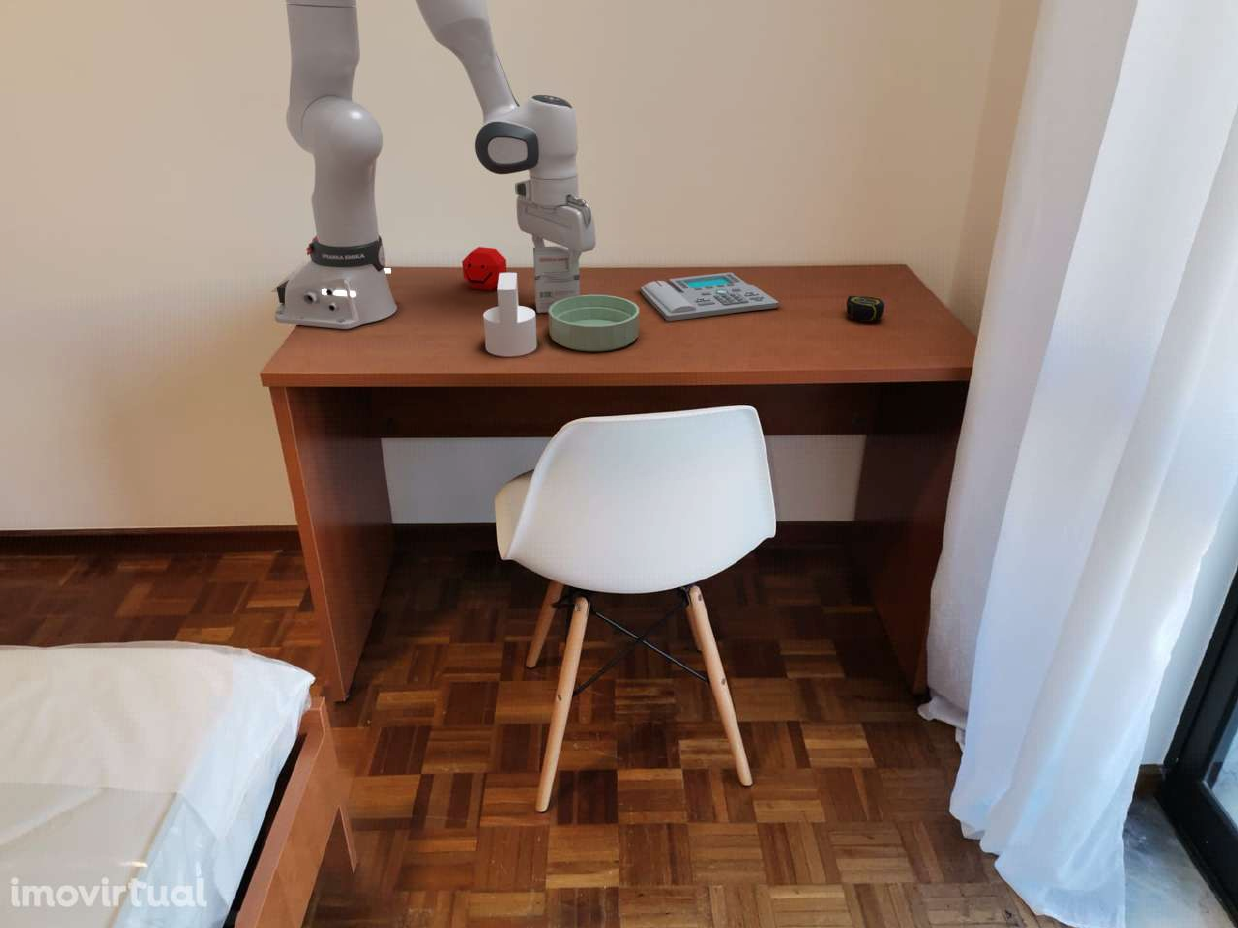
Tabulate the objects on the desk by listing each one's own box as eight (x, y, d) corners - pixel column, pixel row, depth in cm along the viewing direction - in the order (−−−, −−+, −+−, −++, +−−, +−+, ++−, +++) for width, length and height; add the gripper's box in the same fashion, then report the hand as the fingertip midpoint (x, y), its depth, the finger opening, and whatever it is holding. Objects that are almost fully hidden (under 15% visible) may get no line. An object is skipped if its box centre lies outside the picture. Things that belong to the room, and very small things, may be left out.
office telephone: (668, 309, 169) (633, 277, 186) (667, 322, 171) (633, 289, 187) (779, 295, 176) (736, 265, 192) (778, 308, 177) (735, 277, 193)
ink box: (577, 302, 179) (576, 244, 173) (580, 311, 175) (579, 251, 169) (534, 304, 178) (532, 245, 172) (536, 313, 174) (534, 253, 168)
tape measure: (881, 314, 175) (884, 295, 173) (882, 326, 169) (885, 307, 168) (845, 311, 177) (848, 292, 175) (844, 323, 171) (847, 304, 169)
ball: (459, 290, 185) (456, 254, 181) (476, 278, 192) (473, 243, 188) (495, 294, 183) (493, 258, 179) (511, 282, 190) (509, 246, 186)
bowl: (545, 352, 158) (544, 325, 155) (554, 319, 172) (553, 293, 169) (638, 354, 157) (638, 327, 155) (639, 320, 171) (639, 295, 169)
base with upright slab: (486, 337, 163) (482, 273, 157) (536, 336, 164) (534, 272, 158) (484, 357, 156) (479, 290, 150) (536, 355, 156) (533, 289, 150)
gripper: (603, 198, 160) (603, 274, 167) (536, 178, 174) (539, 249, 181) (575, 204, 157) (577, 281, 164) (509, 183, 170) (513, 255, 177)
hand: (556, 264), depth 172 cm, fingers open, 8 cm apart
